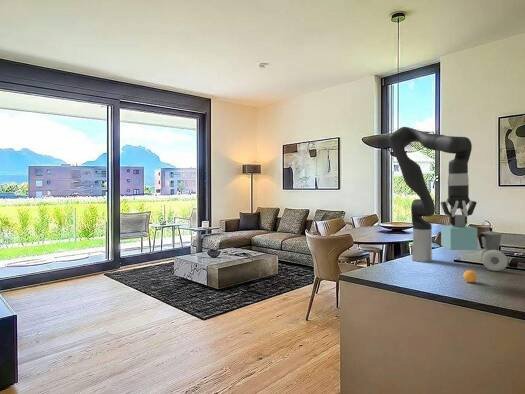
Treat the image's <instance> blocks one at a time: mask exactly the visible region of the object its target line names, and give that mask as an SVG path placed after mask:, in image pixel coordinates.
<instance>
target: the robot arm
mask: <svg viewBox="0 0 525 394" xmlns="http://www.w3.org/2000/svg"><path fill="white" fill-rule="evenodd" d="M388 143H389V146H390V149H391V150H392V153H393V154H394V156H395V159H396V160H397V163H398V166H399V168H400V171H401V174H402V177H403V180H404V183H405V185H406V186H407V187H408V188H409V189H410V190H412V191H413V192H414V193H415V194H416V195H417V196H418V197H419V198H418V199H413V200H412V203H411V207H410V211H411V214H410V215H411V224H412V243H411V247H412V248H411V251H412V252H411V253H412V254H411V259H412V261H415V262H421V263H426V262H427V263H429V262H432V261H433V248H432V246H433V245H432V244H433V242H432V241H433V238H432V237H433V236H432V235H433V233H432V228H433V226H432V224H431V222H428V221H426V220H425V219H424V218H423V217H433V216H434V215H435V213H436V205H435V202H434V200H433V198H432V196H431V193H430V190H429V189H428V187H427V184H426V180H425V177H424V173H423V171H422V168H421V166H420V165H419V163H417V162H416V161H414V160H413V159H411V158H410V157H409V155H407V152H406V150H405V147H407V146H409V145H410V144H412V143H420V144H421V146H422V147H424V148H425V149H427V150H431V151H438V152H443V153H446V154H455V155H454V158H453V159H451V160H449V162H448V178H447V196H448V197H447V199H446V200H445V201H441V202H440V205H441V208H442V211H443V213H444V215H446V216H448V217H449V225H452V226H455V217H454V216H455V215H456V213H457V210H458V209H459V210H460V212H461V215H465V226H466V225H467V224H468V217H469V216H472V215H473V214H474V211H475V208H476V206H477V204H478V203H477V201H475V200H474V201H473V200H471V198H470V197H469V195H470V193H469V192H470V191H469V190H470V189H469V188H470V187H469V185H470V184H469V182H470V181H469V175H468V174H469V167H468V166H469V164H468V163H469V160H470V156H471V153H472V148H473V144H472V141H471V140H470V138H468V137H466V136H453V135H452V136H451V135H445V134H437V133H429V132H424V131H422V130H419V129H415V128H412V127H408V126H402V127H400V128H398V129H397V130H395V131H393V132H392V133H391V134H390V135H389V136H388ZM448 205H449V206H450V208H448ZM467 205H469V206H468V208H467Z"/></svg>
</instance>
